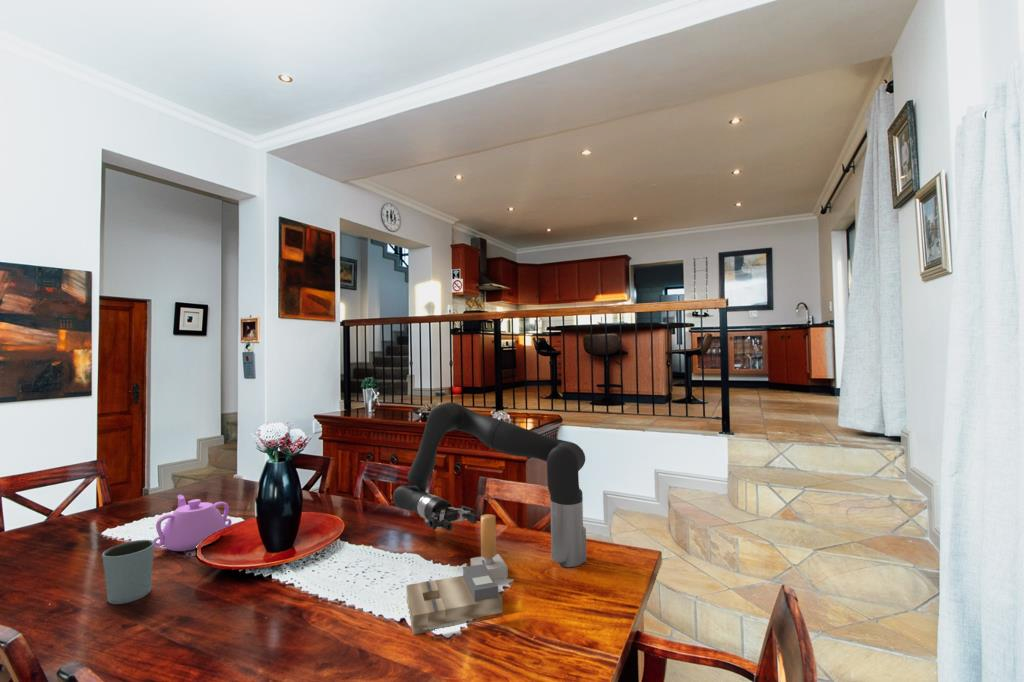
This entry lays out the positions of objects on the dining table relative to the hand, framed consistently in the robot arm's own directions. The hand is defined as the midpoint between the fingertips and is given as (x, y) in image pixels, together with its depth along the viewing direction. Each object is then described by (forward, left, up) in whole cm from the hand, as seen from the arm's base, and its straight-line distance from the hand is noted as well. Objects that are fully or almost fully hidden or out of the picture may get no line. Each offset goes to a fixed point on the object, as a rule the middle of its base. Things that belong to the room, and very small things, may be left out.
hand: (463, 523), depth 133 cm
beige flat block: (+8, +23, -11) cm, 26 cm away
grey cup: (+84, -11, -11) cm, 85 cm away
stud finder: (+1, +23, -7) cm, 24 cm away
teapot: (+80, -46, -11) cm, 93 cm away
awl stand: (-4, +11, -11) cm, 16 cm away
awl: (-4, +11, -10) cm, 15 cm away
